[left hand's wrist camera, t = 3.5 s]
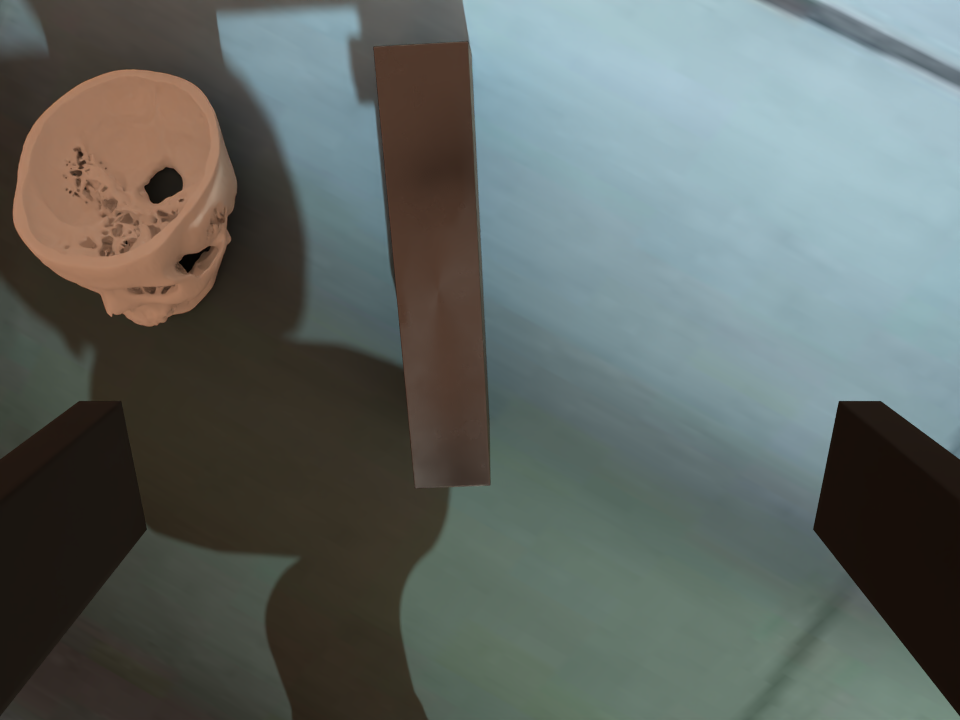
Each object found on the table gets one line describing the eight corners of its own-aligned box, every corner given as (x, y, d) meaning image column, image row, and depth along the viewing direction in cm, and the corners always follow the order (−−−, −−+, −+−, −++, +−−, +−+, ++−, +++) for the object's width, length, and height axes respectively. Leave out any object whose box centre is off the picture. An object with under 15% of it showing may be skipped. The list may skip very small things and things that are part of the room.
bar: (395, 58, 42) (373, 46, 33) (471, 53, 41) (468, 41, 33) (426, 426, 50) (414, 488, 42) (489, 424, 50) (490, 485, 42)
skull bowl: (77, 328, 46) (-42, 267, 34) (136, 142, 49) (46, 26, 37) (233, 358, 47) (170, 308, 35) (282, 172, 50) (240, 67, 38)
